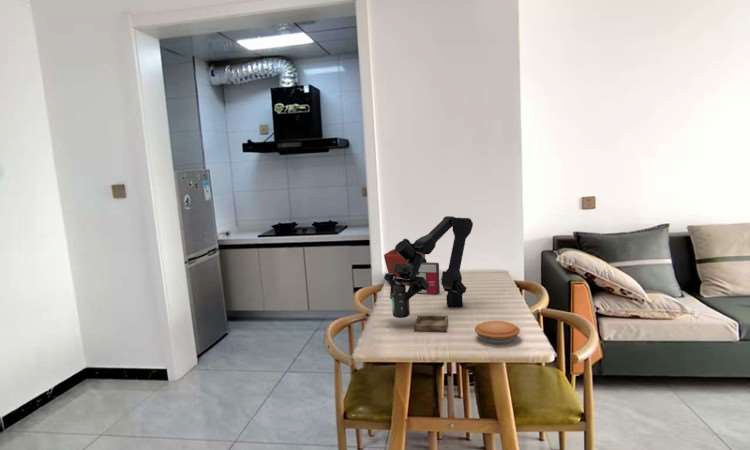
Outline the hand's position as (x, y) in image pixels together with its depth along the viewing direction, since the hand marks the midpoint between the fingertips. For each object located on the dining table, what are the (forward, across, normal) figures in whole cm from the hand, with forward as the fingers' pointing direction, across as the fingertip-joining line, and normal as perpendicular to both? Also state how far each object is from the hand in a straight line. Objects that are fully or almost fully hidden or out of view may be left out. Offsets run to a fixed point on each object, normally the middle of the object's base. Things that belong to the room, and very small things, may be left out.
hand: (397, 299), depth 182 cm
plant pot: (-35, -41, +51) cm, 74 cm away
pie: (+3, +38, +13) cm, 40 cm away
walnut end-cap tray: (+3, +11, +12) cm, 17 cm away
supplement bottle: (+4, 0, +6) cm, 7 cm away
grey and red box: (-25, -17, +41) cm, 51 cm away
